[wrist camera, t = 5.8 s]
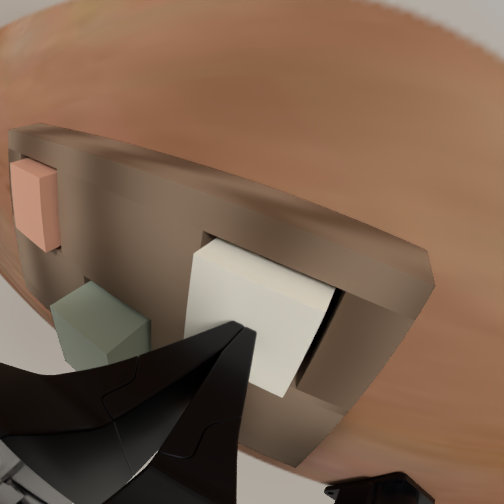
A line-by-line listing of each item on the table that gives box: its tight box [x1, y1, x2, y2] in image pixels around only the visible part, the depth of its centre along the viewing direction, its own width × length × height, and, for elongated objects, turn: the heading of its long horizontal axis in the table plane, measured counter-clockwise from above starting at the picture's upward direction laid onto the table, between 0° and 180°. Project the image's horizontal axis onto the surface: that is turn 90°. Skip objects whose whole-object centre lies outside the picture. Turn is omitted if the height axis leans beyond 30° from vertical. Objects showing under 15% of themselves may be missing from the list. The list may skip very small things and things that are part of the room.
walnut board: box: [8, 123, 435, 468], centre depth 14 cm, size 22×12×2 cm, turn 76°
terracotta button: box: [10, 157, 61, 253], centre depth 14 cm, size 4×4×3 cm
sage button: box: [50, 281, 151, 371], centre depth 13 cm, size 4×4×3 cm
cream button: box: [184, 237, 336, 398], centre depth 10 cm, size 4×4×3 cm
